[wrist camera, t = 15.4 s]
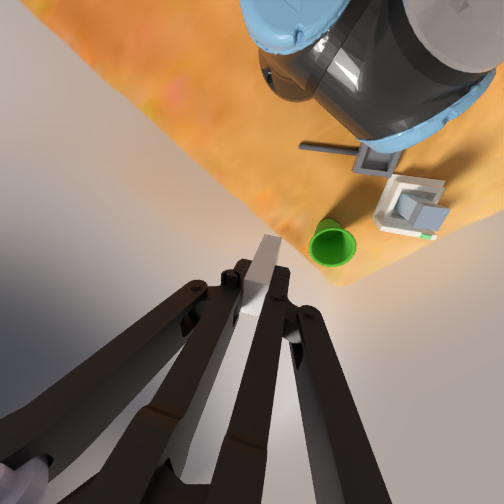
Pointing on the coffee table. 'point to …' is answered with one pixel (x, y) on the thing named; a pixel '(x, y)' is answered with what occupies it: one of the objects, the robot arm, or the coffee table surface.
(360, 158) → the grey square socket
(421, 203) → the plug
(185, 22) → the coffee table surface
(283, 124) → the coffee table surface
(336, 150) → the cord
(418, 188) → the tray
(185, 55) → the coffee table surface
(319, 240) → the cup
